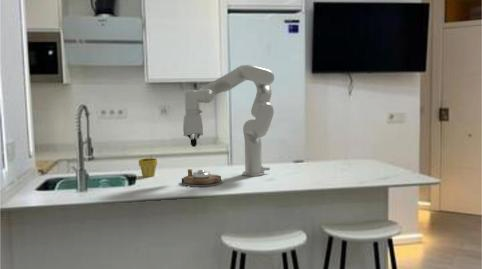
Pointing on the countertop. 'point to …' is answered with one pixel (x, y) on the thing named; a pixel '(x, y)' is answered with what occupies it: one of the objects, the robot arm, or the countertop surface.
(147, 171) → the plant pot
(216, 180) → the turntable
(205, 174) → the cover
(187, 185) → the turntable base
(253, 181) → the countertop surface
